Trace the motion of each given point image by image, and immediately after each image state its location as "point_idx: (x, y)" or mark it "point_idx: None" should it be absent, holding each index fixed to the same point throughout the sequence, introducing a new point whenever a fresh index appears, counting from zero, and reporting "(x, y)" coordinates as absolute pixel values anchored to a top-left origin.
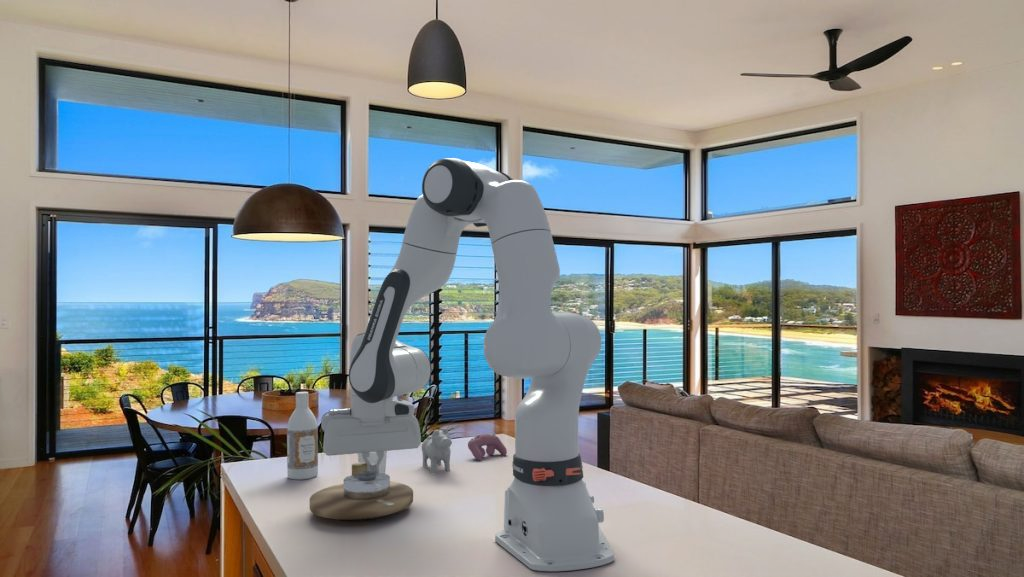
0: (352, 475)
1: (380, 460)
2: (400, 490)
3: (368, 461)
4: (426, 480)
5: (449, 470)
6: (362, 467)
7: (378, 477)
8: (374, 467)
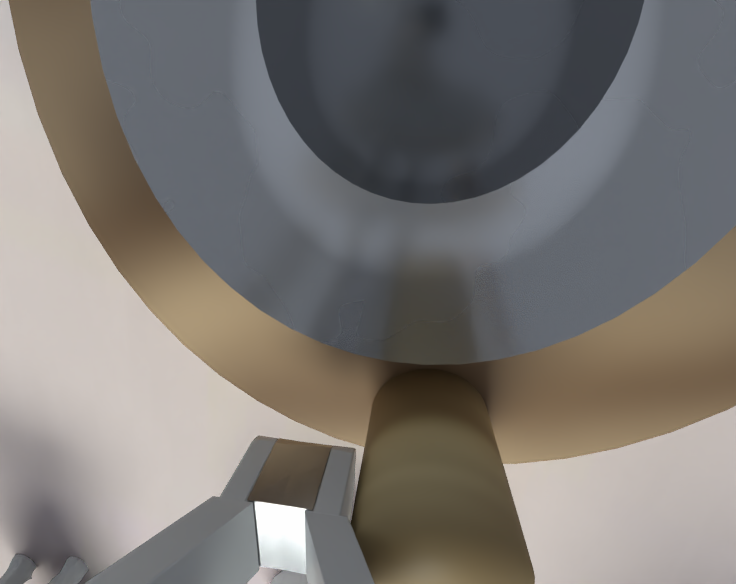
0: (584, 316)
1: (170, 538)
2: None
3: (324, 565)
4: (94, 487)
5: (15, 556)
6: (414, 489)
7: (252, 33)
8: (279, 480)
